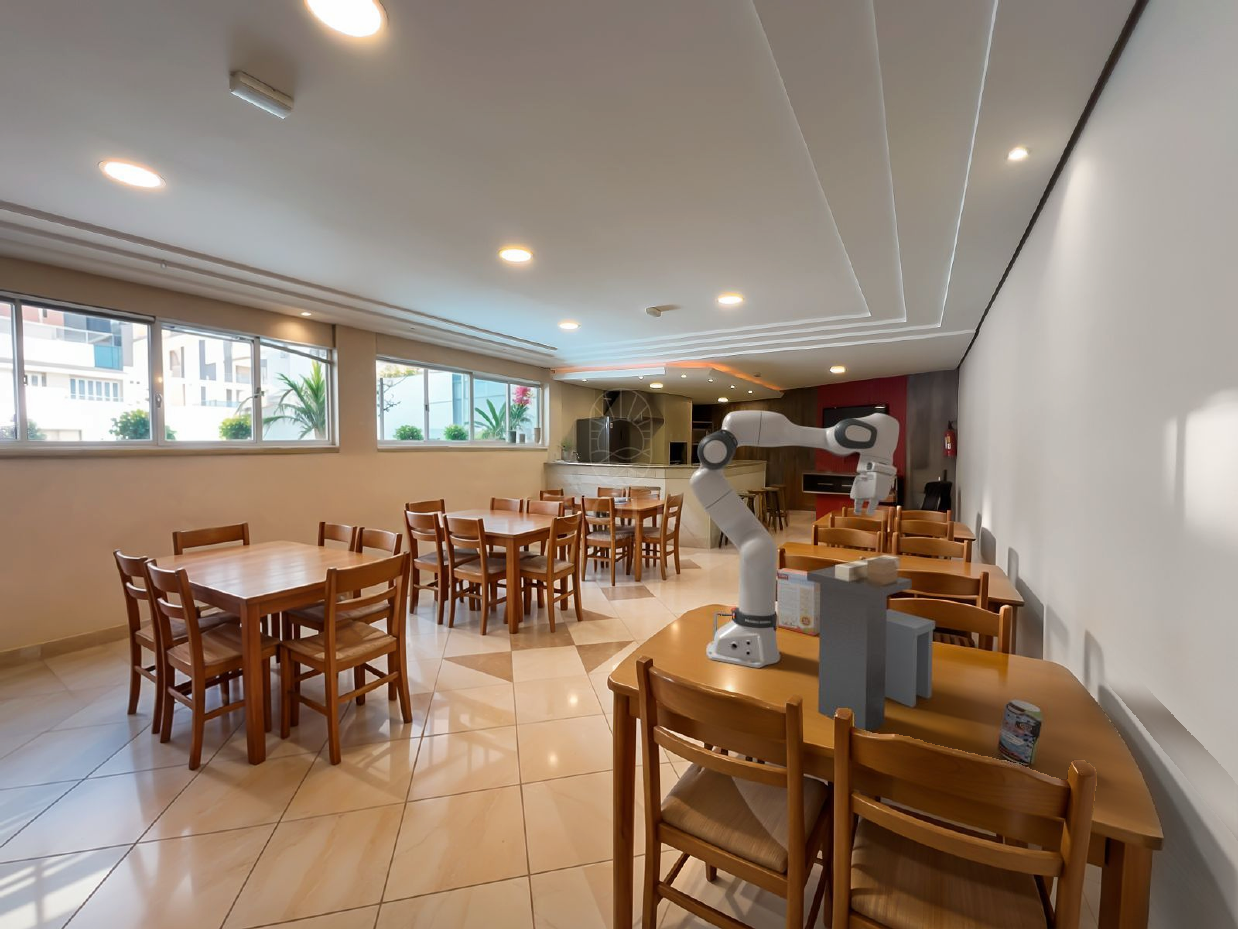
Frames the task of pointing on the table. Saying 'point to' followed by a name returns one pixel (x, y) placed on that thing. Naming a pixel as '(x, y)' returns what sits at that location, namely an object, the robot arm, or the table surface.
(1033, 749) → the beverage can
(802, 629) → the cracker box
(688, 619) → the table surface
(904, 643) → the slate trestle
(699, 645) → the table surface
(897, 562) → the birch slat
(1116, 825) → the table surface
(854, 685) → the steel pedestal
